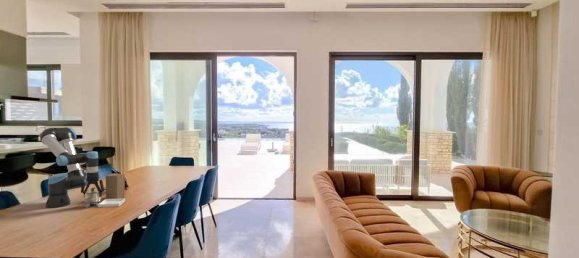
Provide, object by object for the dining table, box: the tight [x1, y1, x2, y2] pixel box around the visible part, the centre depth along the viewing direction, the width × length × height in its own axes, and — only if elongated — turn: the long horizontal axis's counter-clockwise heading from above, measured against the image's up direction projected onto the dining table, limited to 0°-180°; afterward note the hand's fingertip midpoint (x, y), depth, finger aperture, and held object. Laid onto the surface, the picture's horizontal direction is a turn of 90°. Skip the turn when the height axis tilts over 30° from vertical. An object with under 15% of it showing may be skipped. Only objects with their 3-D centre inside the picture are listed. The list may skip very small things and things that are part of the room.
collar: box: [84, 191, 102, 203], centre depth 234 cm, size 8×10×6 cm
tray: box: [97, 197, 126, 208], centre depth 239 cm, size 15×15×2 cm
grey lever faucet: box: [83, 186, 100, 209], centre depth 234 cm, size 9×9×14 cm
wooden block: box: [105, 173, 126, 199], centre depth 254 cm, size 10×10×20 cm
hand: (92, 201), depth 234 cm, fingers closed on collar, 8 cm apart
